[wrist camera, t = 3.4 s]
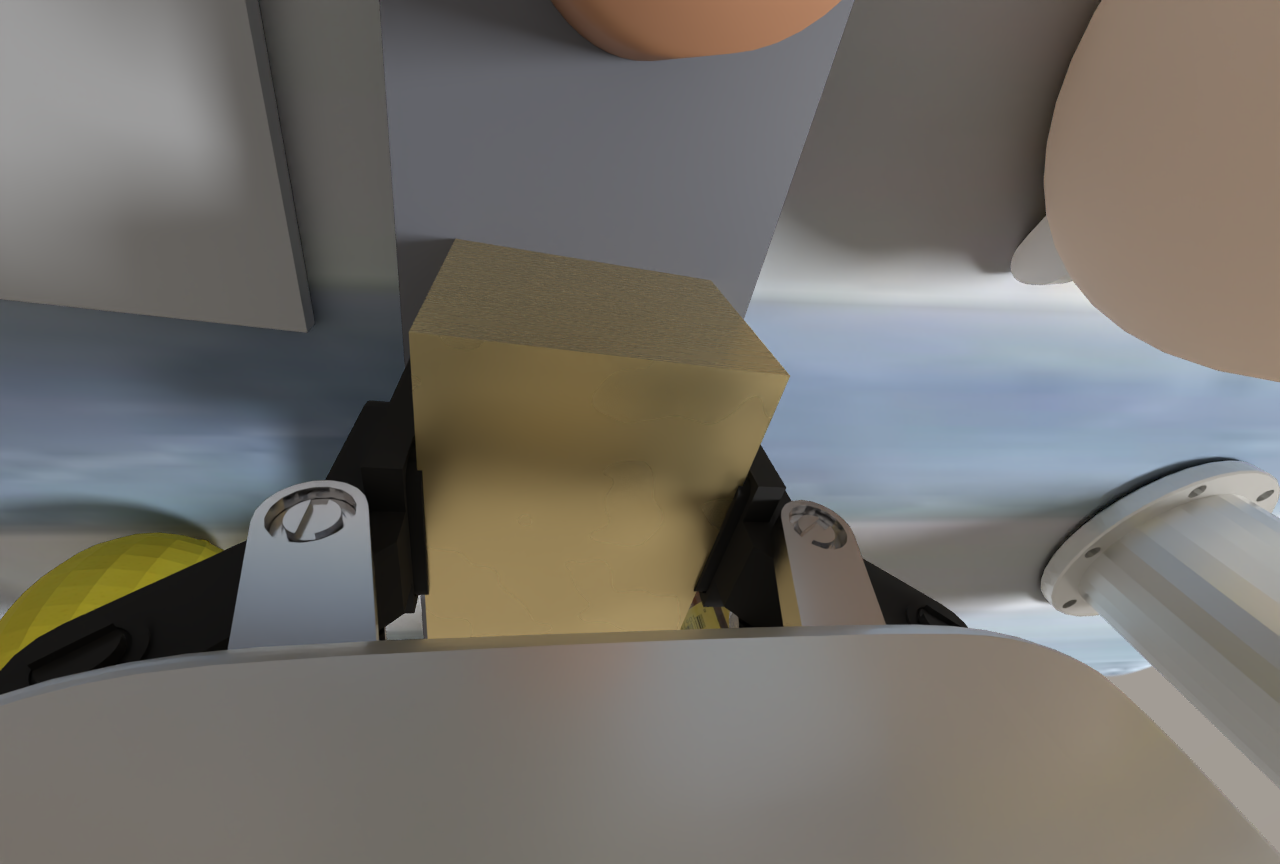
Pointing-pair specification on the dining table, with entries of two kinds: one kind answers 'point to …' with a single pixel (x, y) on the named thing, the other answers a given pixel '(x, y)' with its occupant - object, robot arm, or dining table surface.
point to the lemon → (96, 583)
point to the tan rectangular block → (577, 439)
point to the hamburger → (1170, 179)
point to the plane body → (600, 130)
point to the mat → (146, 163)
